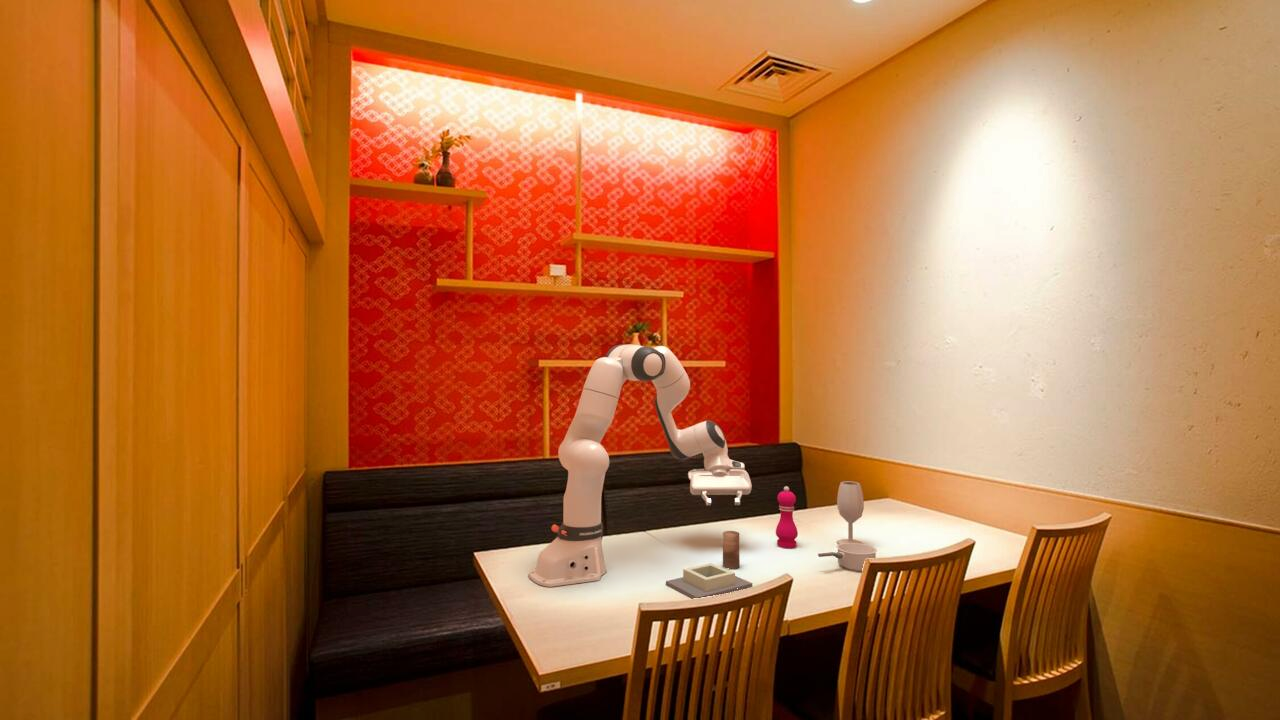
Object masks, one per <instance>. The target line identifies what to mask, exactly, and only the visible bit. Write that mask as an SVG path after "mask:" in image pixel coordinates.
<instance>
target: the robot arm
mask: <svg viewBox="0 0 1280 720" xmlns="http://www.w3.org/2000/svg"><path fill="white" fill-rule="evenodd" d="M627 380H628V381H633V382H643V383H644V382H645V383H646V382H647V383H648V382H652V384H653V386H654V388H655V390H656V396H655V397H654V407H655V411H656V414H657V418H658V419H659V422H660V425H661V428H662V431H663V432H664V435H665V436H664V437H665V438H666V441H667V445H668V449H669V451H670V454H671V455H672V457H673V458H675V459H676V460H679V461H686V460H688V459H690V458H692V457H693V456H696V455H700V454H702V456H703V465H704V468H693V469H691V470H689V471H688V473H687V477H688V480H689V481H690V483H689V492H690V494H692V495H693V496H701V498H702V499H703V500H704V502H705V506H707V507H708V506H711V505H712V499H711V498H709V497H708V496H710V495H711V496H712V495H713V496H714V495H715V496H720V495H722V496H723V495H725V496H728V495H729V496H730V495H733V496H735V495H736V497H735V498H734V506H740V505H741V498H742V496H743V495H746V496H747V495H749V494H750V493H751V491H752V486H753V485H752V481H751V478H750V475H749V473H748V472H747V470H745V469H746V468H745V463H744V462H740V461H736V460H733V459H730V457H729V455H728V452H729V449H728V444H727V440H726V437H725V434H724V431H723V429H722V428H721V427H720V425H719V424H717V423H716V422H714V421H711V420H704V421H702V422H699V423H695V424H694V425H691V426H688V427H686V428H683V429H679V428H677V425H676V423H675V420H674V418H673V414H672V412H673V410H674V409H675V408H676V407H677V406H679V405H680V404H681V403H682V402H683V401H684V400H685V399H686V398H687V396H688V395H689V392H690V388H691V381H690V378H689V376H688V373H687V372H686V370H685V368H684V367H683V365H682V363H681V362H680V360H679V359H678V358H677V356H676V355H675V354H674V353H673V352H672V351H671V349H669V348H668V347H667V346H664V345H657V346H655V347H651V346H646V345H645V346H643V345H639V344H636V343H635V344H632V343H631V344H623V343H622V344H618V345H614V346H613V347H611V348H610V349H609V350H608V351H607V353H606V355H605V356H603V357H600V358H597V359H596V360H595V361H594V363H592V366H591V368H590V370H589V372H588V374H587V375H586V379H585V382H584V385H583V389H582V391H581V395H580V397H579V401H578V405H577V408H576V411H575V414H574V417H573V419H572V421H571V423H570V425H569V427H568V430H567V432H566V434H565V436H564V439H563V441H562V442H561V444H560V445H559V448H558V455H557V456H558V460H559V462H560V464H561V466H562V468H564V469H565V470H567V473H568V474H567V482H566V488H565V492H564V495H563V519H562V520H563V522H562V523H561V525H560V526H559V525H557V524H552V526H551V531H552V532H554V533H557V536H556V537H555V539H553V540H552V541H551V543H549V544H548V545H547V546H546V547H545V548H543V550H542V551H540V552H539V554H538V557H537V561H536V567H535V568H531V569H530V570H529V571H528V577H529V579H530V580H531V581H532V582H534V583H535V584H538V585H540V586H543V587H547V588H548V587H549V588H550V587H552V588H553V587H559V586H566V585H574V584H581V583H589V582H596V581H600V580H601V578H602V576H603V575H604V574H606V573H607V571H608V570H607V567H606V563H605V558H604V553H603V543H602V542H603V536H604V535H603V522H602V496H603V495H602V493H603V488H604V482H605V477H606V472H607V470H608V469H609V467H610V458H609V457H610V456H609V454H608V451H606V449H605V447H604V446H603V445H602V444H601V442H602V440H603V438H604V436H605V434H606V432H607V430H608V429H609V428H610V427H611V425H612V424H613V421H614V416H615V414H616V409H617V406H618V402H619V399H620V394H621V390H622V387H623V385H624V383H626V381H627ZM707 495H708V496H707Z"/></svg>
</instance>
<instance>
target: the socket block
mask: <svg viewBox="0 0 1280 720" xmlns="http://www.w3.org/2000/svg"><path fill="white" fill-rule="evenodd" d="M682 572H683V573H682V574H683V575H682V577H679V578H678V577H677V578H674V579H670V580H665V585H666V586H667V585H668V586H667V587H669V586H670V587H669V588H671V589H673V590H674V591H677V592H678V593H680V594H683V595H685V596H686V597H689V598H690V599H692V600H694V599H693V598H701V597H707V596H713V595H719V594H724V593H728V592H731V593H733V592H732V591H735V592H737V591H736V590H739V591H742V590H741V589H743V590H746V589H749V588H748V587H750V588H752V587H753V582H750V581H748V580H746V579H743V578H741V577H739V576H736V573H735V572H734V571H732V570H730V569H726V568H724V567H723V566H719V565H716V564H715V563H712V562H710V563H706V564H702V565H697V566H693V567H688V568H683V569H682ZM751 586H752V587H751ZM737 588H738V589H737ZM745 588H746V589H745ZM728 594H729V593H728ZM724 595H725V594H724Z"/></svg>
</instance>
